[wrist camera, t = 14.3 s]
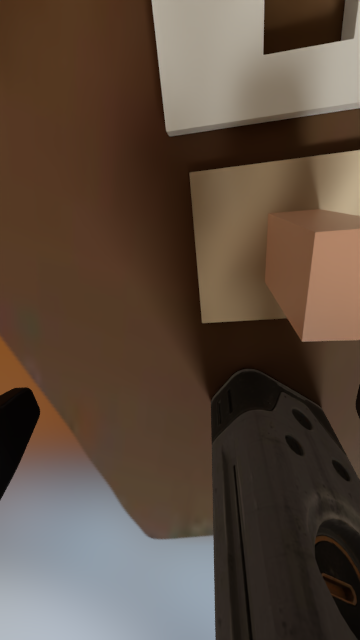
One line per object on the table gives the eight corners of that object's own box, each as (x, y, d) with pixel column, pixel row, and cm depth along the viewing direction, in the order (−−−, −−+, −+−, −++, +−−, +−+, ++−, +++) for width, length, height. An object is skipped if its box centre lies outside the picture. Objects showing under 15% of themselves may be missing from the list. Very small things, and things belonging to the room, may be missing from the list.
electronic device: (331, 409, 23) (733, 1126, 6) (284, 447, 26) (458, 1025, 8) (243, 359, 22) (407, 1113, 4) (203, 404, 24) (194, 995, 7)
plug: (319, 209, 16) (409, 225, 9) (310, 279, 18) (379, 339, 11) (268, 213, 16) (315, 232, 9) (264, 282, 18) (301, 341, 11)
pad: (404, 144, 15) (412, 143, 14) (370, 309, 19) (375, 313, 19) (189, 172, 16) (189, 172, 16) (202, 319, 21) (202, 323, 20)
